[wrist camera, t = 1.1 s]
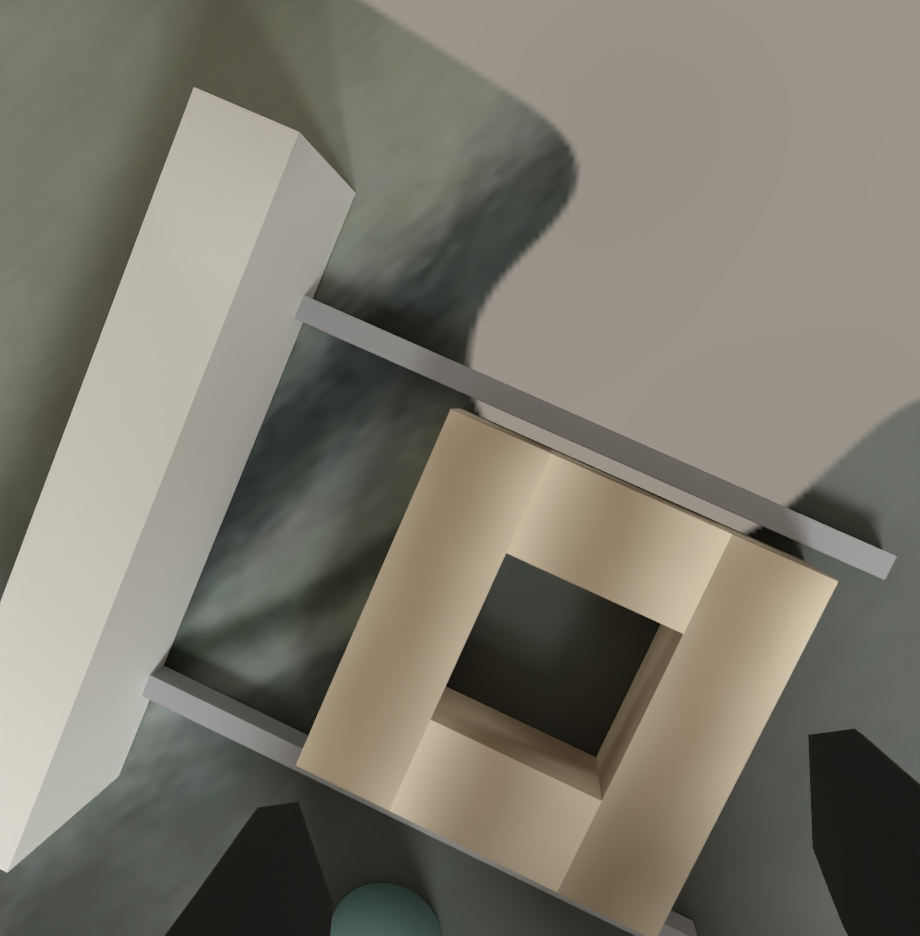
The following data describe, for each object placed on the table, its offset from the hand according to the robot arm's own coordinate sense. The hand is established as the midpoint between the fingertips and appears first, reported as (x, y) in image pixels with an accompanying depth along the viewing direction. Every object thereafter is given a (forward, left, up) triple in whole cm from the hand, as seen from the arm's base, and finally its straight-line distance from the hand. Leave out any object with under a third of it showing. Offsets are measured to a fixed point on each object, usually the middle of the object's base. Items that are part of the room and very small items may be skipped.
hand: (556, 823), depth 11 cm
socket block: (-1, +2, -15) cm, 16 cm away
